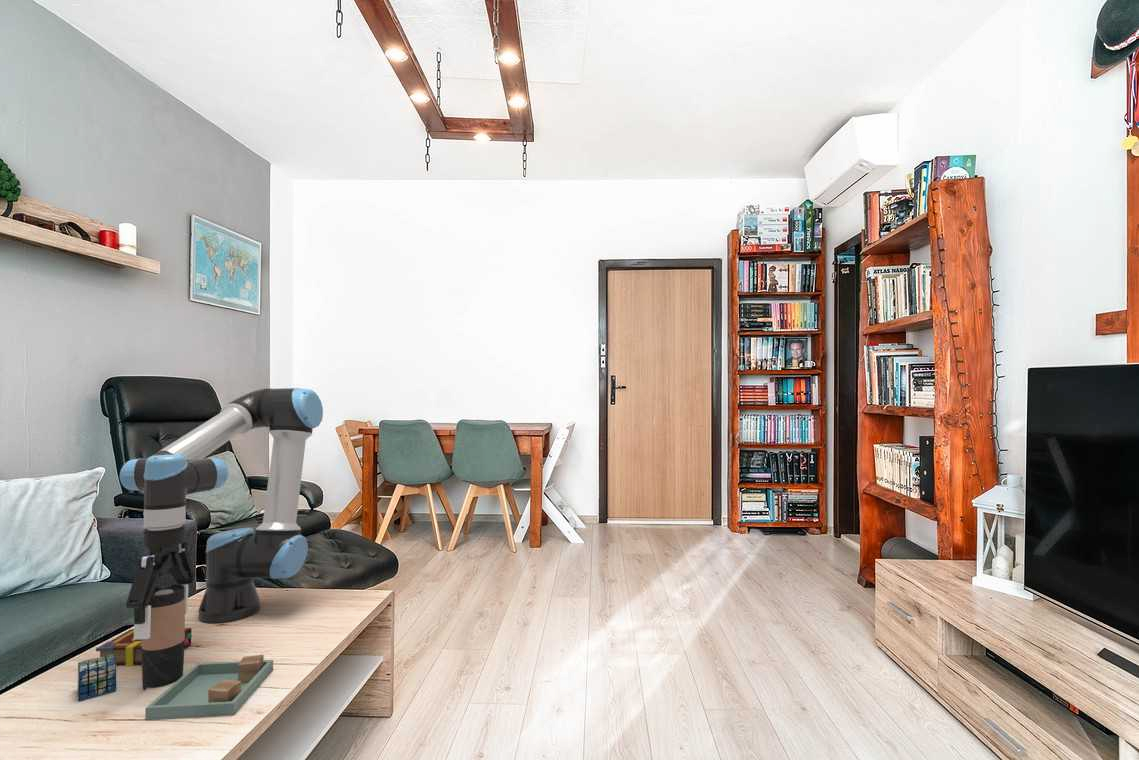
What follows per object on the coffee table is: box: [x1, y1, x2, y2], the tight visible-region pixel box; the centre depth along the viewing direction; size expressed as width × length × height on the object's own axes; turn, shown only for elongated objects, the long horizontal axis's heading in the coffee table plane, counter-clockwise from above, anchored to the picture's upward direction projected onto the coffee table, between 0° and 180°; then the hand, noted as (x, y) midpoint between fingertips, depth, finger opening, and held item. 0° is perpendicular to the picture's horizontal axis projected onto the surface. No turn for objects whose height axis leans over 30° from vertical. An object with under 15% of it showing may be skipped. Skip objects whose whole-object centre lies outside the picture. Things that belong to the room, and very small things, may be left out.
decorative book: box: [95, 627, 193, 667], centre depth 138 cm, size 11×16×5 cm
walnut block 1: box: [208, 680, 242, 703], centre depth 114 cm, size 4×4×4 cm
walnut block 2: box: [238, 654, 265, 683], centre depth 125 cm, size 4×4×4 cm
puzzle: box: [77, 654, 117, 702], centre depth 121 cm, size 6×6×6 cm
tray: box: [144, 659, 274, 721], centre depth 119 cm, size 18×16×3 cm
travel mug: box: [141, 583, 186, 691], centre depth 124 cm, size 8×8×20 cm
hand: (162, 625), depth 124 cm, fingers open, 13 cm apart
